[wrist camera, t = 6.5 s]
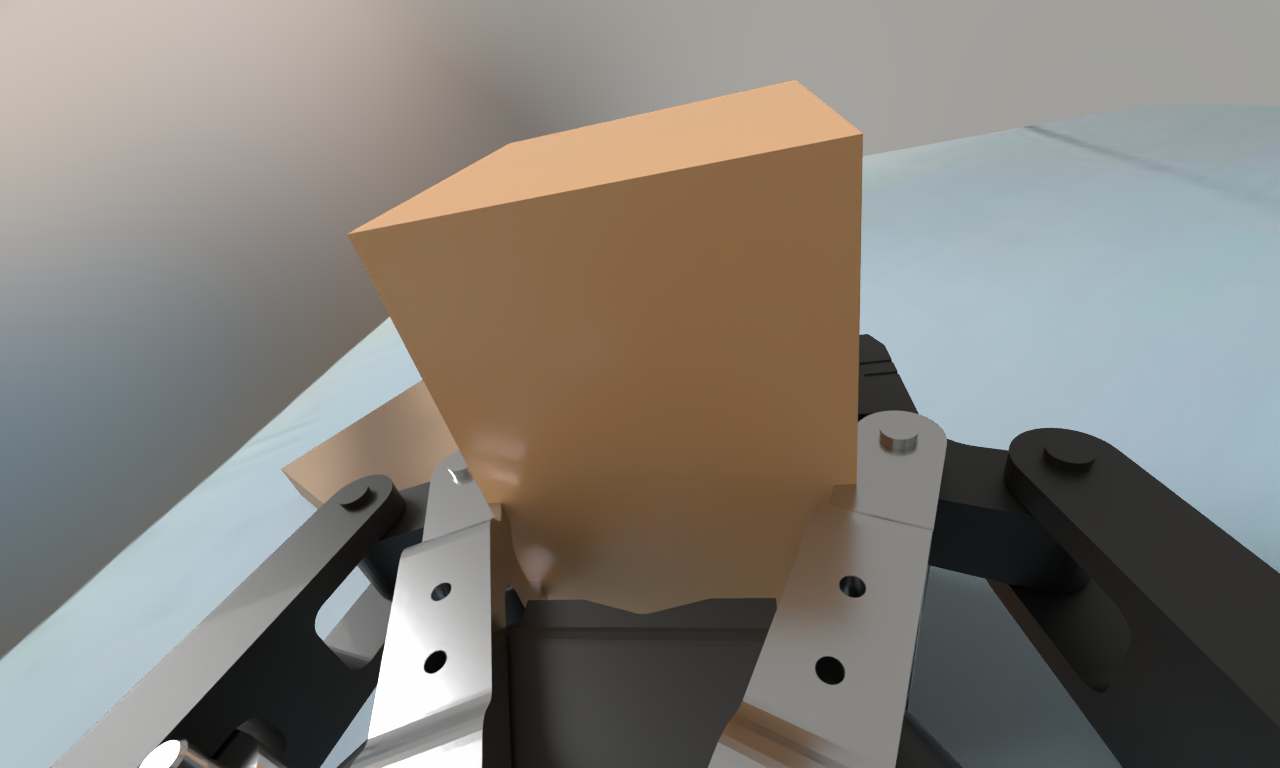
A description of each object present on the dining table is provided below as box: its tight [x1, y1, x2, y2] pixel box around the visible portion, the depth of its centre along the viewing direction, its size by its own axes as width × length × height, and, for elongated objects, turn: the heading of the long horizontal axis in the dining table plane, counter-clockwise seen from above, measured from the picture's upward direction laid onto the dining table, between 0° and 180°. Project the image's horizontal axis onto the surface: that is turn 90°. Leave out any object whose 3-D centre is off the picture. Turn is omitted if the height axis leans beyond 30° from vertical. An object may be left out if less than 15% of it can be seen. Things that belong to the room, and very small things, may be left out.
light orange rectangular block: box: [347, 80, 863, 614], centre depth 11 cm, size 5×5×12 cm
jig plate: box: [281, 380, 459, 509], centre depth 24 cm, size 20×12×5 cm, turn 142°
